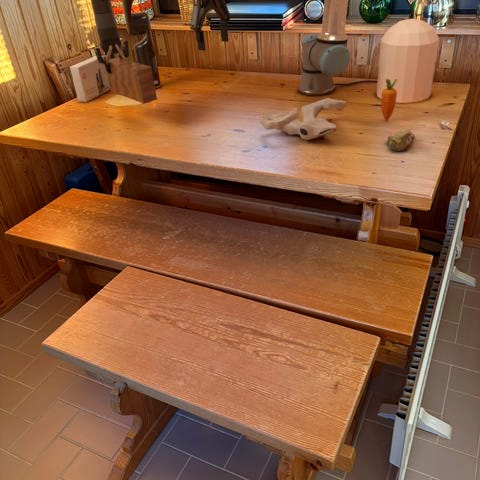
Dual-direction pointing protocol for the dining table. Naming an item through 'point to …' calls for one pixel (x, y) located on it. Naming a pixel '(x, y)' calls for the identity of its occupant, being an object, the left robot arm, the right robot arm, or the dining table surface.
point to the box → (132, 80)
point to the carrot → (388, 99)
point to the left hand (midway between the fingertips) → (116, 71)
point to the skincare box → (89, 79)
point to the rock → (400, 140)
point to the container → (408, 60)
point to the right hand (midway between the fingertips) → (213, 45)
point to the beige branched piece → (305, 120)
